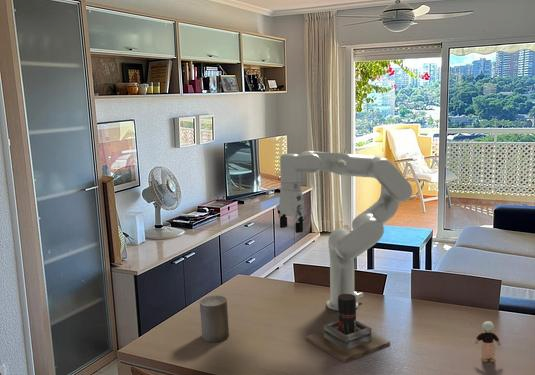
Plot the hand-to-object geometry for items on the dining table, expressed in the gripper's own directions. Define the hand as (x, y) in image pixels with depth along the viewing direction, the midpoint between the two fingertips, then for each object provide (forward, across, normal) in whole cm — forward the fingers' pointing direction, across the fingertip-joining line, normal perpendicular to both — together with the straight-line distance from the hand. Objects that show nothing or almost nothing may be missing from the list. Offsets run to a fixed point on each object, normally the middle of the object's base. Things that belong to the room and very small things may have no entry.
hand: (291, 229), depth 201 cm
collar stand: (+33, -33, +2) cm, 47 cm away
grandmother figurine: (+32, -69, -23) cm, 80 cm away
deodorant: (+32, -33, +2) cm, 46 cm away
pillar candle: (+33, 0, +35) cm, 49 cm away
